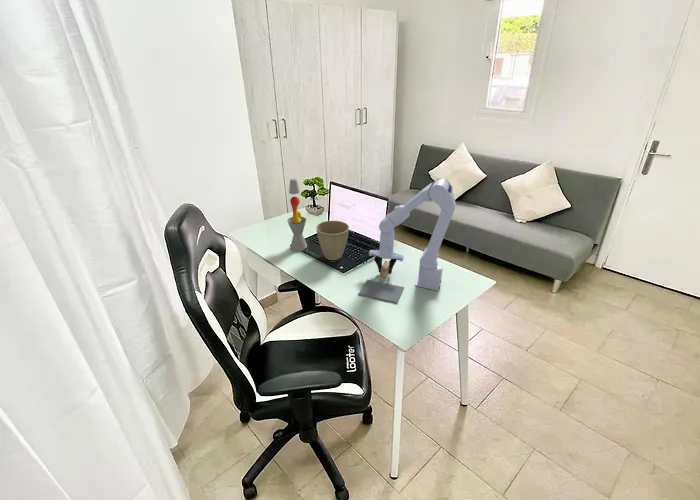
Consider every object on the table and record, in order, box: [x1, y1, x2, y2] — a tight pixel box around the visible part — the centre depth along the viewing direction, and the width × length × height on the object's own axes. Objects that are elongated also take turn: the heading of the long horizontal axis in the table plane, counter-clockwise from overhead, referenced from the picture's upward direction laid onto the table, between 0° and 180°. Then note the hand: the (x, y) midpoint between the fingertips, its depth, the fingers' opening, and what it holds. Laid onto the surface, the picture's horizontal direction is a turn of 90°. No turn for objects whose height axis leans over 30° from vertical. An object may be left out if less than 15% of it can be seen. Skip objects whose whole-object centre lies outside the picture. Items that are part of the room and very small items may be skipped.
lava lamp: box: [287, 178, 308, 253], centre depth 169 cm, size 9×9×35 cm
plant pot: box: [315, 220, 350, 261], centre depth 164 cm, size 15×15×16 cm
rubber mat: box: [358, 279, 405, 304], centre depth 144 cm, size 16×11×1 cm
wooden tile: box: [379, 259, 390, 281], centre depth 154 cm, size 2×8×5 cm, turn 159°
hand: (385, 272), depth 154 cm, fingers open, 4 cm apart
